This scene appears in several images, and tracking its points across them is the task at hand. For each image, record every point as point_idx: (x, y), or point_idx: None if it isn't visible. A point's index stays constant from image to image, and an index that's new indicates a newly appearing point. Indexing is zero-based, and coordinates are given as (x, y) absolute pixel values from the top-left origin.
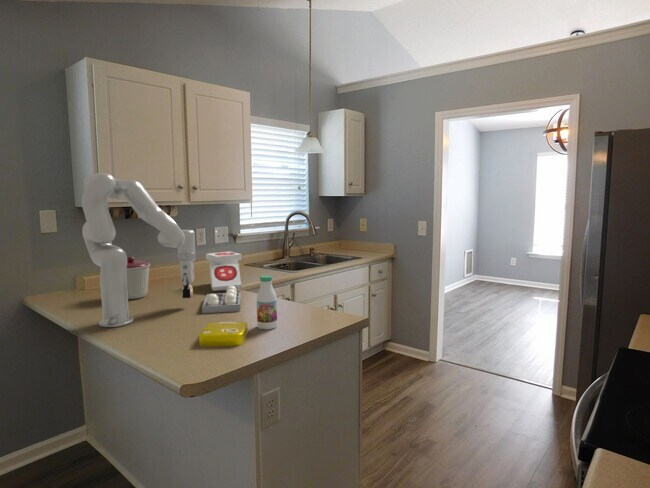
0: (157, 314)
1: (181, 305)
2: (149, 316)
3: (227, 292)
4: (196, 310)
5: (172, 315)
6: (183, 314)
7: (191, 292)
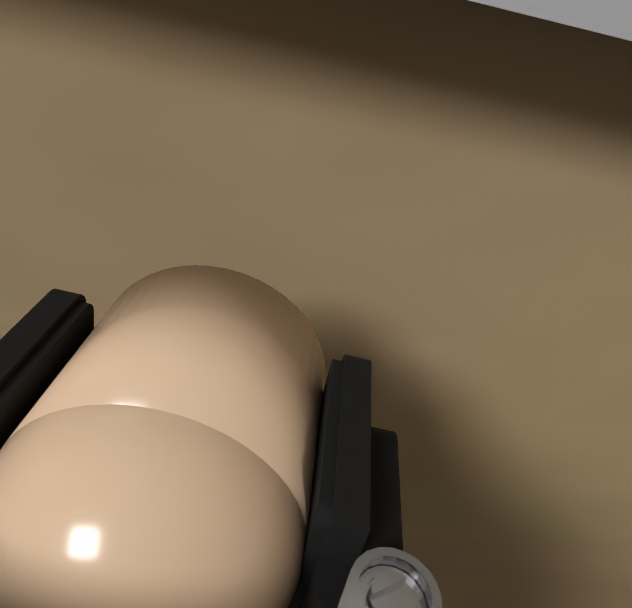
0: (428, 553)
1: (95, 326)
2: (463, 601)
3: None
4: (516, 157)
5: (575, 457)
6: (625, 353)
7: (269, 384)
